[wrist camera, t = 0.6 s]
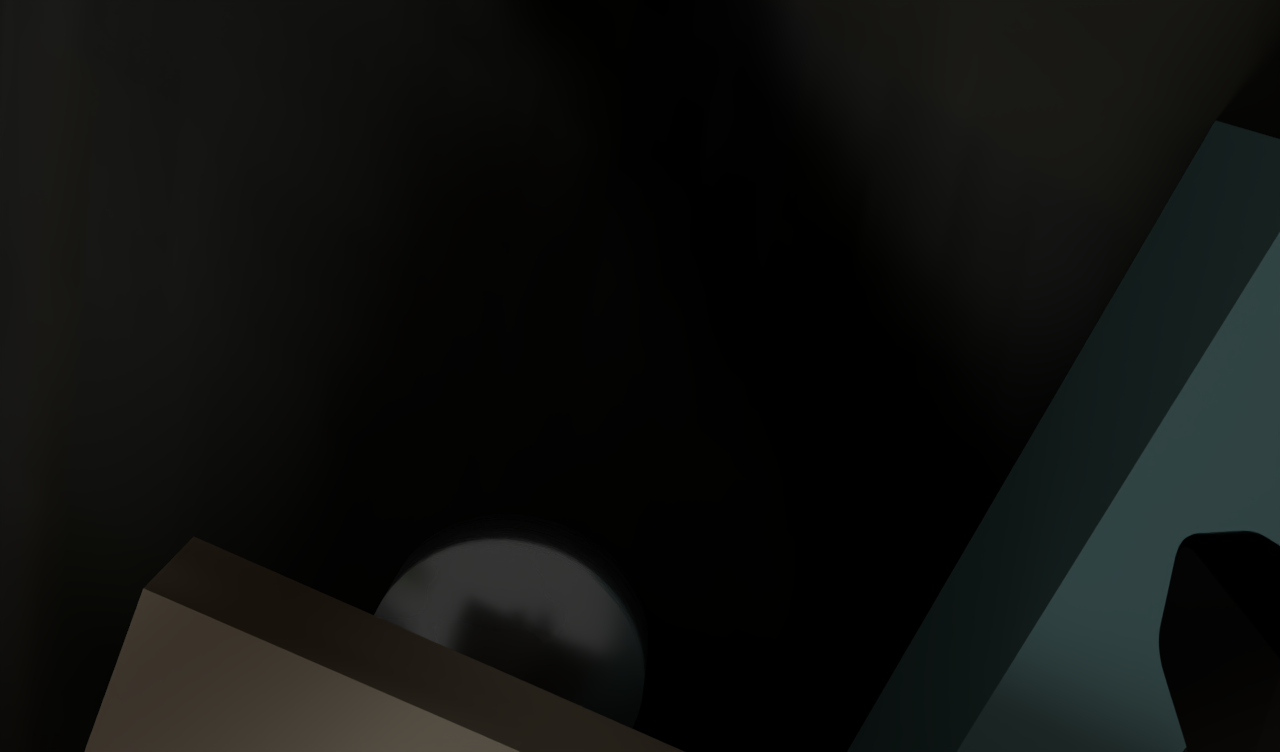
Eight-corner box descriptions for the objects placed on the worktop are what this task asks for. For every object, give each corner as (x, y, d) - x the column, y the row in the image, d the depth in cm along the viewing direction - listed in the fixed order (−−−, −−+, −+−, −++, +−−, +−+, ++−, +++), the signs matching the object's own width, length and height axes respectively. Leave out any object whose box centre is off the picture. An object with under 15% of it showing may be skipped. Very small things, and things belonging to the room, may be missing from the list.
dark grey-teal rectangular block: (1375, 194, 19) (1534, 248, 15) (888, 952, 25) (917, 1130, 21) (1209, 118, 19) (1328, 153, 15) (754, 899, 24) (759, 1068, 21)
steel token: (694, 577, 22) (691, 620, 21) (584, 780, 24) (574, 834, 22) (445, 465, 22) (424, 500, 20) (351, 678, 23) (325, 726, 22)
